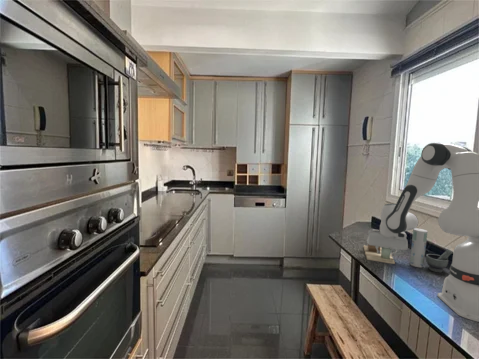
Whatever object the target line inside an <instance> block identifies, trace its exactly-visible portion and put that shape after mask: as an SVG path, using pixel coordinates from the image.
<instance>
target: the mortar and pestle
mask: <svg viewBox="0 0 479 359" xmlns="http://www.w3.org/2000/svg"><path fill="white" fill-rule="evenodd" d="M452 254H453V251H451V249H448V248H447V249H446V250H445V251H444V252H443V253H442V254H441V255H440V254H434V253H425V255H426V256H425V262H426V264H427V265H428V270H430V271H433V272H436V273H443V271H444V270H443V269H445V268H446V267H448V264H449V257H450V256H451V255H452Z"/></svg>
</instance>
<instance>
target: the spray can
mask: <svg viewBox="0 0 479 359" xmlns="http://www.w3.org/2000/svg"><path fill="white" fill-rule="evenodd" d="M428 232H429V231H428V230H426V229H424V228H417V227H416V228H415V229H412V239H411V249H410V258H409V265H411V266H412V267H416V268H423V267H424V264H425V263H424V262H425V257H426V256H425V255H426V249H427V248H426V247H427V238H428Z"/></svg>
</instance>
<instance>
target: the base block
mask: <svg viewBox="0 0 479 359" xmlns="http://www.w3.org/2000/svg"><path fill="white" fill-rule="evenodd" d="M367 246H368V250H369V251H372V252H377V249H376V247H375V246H372V245H369V244H368V243H367ZM380 248H381V247H378V250H380Z"/></svg>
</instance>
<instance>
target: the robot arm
mask: <svg viewBox="0 0 479 359" xmlns="http://www.w3.org/2000/svg"><path fill="white" fill-rule="evenodd" d="M420 154H421V155H420V157H419V158H418V160H417V161H416V163H415V165H414V167H413V169H412V171H411V173H410V176H409V178H408V181H407V182H406V185H405V187H404V189H403V190H402V191H401V194H400V195H399V197H398V200H397V202H396V203H386V204H384V205H382V208H381V213H380V220H381V222H380V224H379V229H369V230H368V231H367V240H366V241H367V245H368V244H369V245H372V246H375V247H376V249H377V254H380V250H378V247H380V248H382V247H386V248H390V249H391V250H392V249H393V250H394V251H393V252H392V251H391V256H392V257H396V254H397V253H398V252H399V250H400V251H401V250H402V251H407V250H408V249H409V248H408V247H409V243H408V239H407V237H408V236H407V233H406V232H408V231H413V229H415V228H417V227H418V225H419V218H418V217H417V215H415V214H414V213H412V212H409V211H410V210H411V208H412V205H413V204H414V202H415V201H416V200H418V198H420V197H421V196H423V195H425V194H426V195H427V194H428V193H430V191H431V190H432V189H433V187H434V186H435V185H436V182H437V179H438V177H439V175H440V173H441V171H442V170H445V169H447V170H449V171H451V178H452V180H451V181H452V189H453V190H452V191H453V192H452V193H453V195H452V200H451V202H450V204H449V205H448V206H447V208H446V209H443V210H442V211H441V212H440V214H438V219H437V222H438V226H439V228H440V229H441V230H442V231H443V232H444V233H447V234H450V235H454V236H459V237H460V236H461V237H467V239H465V241H463V242H461V243H458V244H456V246H455V247H454V249H453V252H452V254H453V255H452V262H451V264H450V267H449V275H447V276H446V277H445V278H444V280H443V285H442V289H441V292H437V297H438V298H439V300H441V301H443V303H444V304H445V305H447V306H448V308H450V309H451V310H453V312H454V313H455V314H456V315H458V316H459V317H462V318H464V319H466V320H467V319H468V320H470V321H473V322H478V323H479V209H478V204H479V153H478V152H474V151H473V150H472V149H469V148H468V147H466V146H465V147H464V146H459V145H456V144H455V145H454V144H451V143H441V142H431V143H428V144H426V145H425V146H424V147H423V149H422V150H421V152H420Z"/></svg>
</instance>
